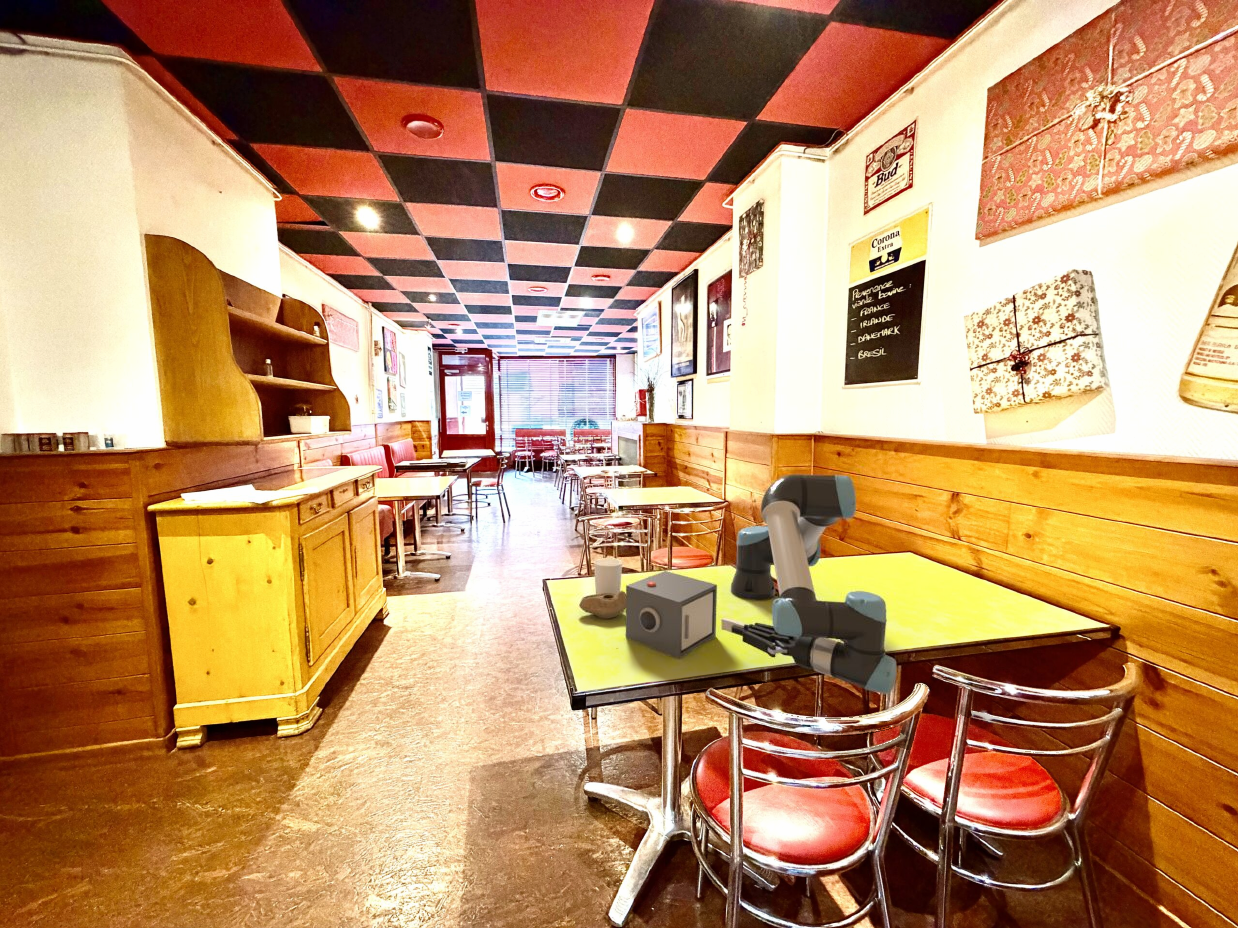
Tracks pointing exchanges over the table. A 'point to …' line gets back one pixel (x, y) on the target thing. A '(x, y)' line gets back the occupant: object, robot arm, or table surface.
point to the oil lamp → (604, 604)
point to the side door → (696, 619)
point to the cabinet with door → (664, 611)
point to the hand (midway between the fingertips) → (723, 623)
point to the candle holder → (608, 575)
